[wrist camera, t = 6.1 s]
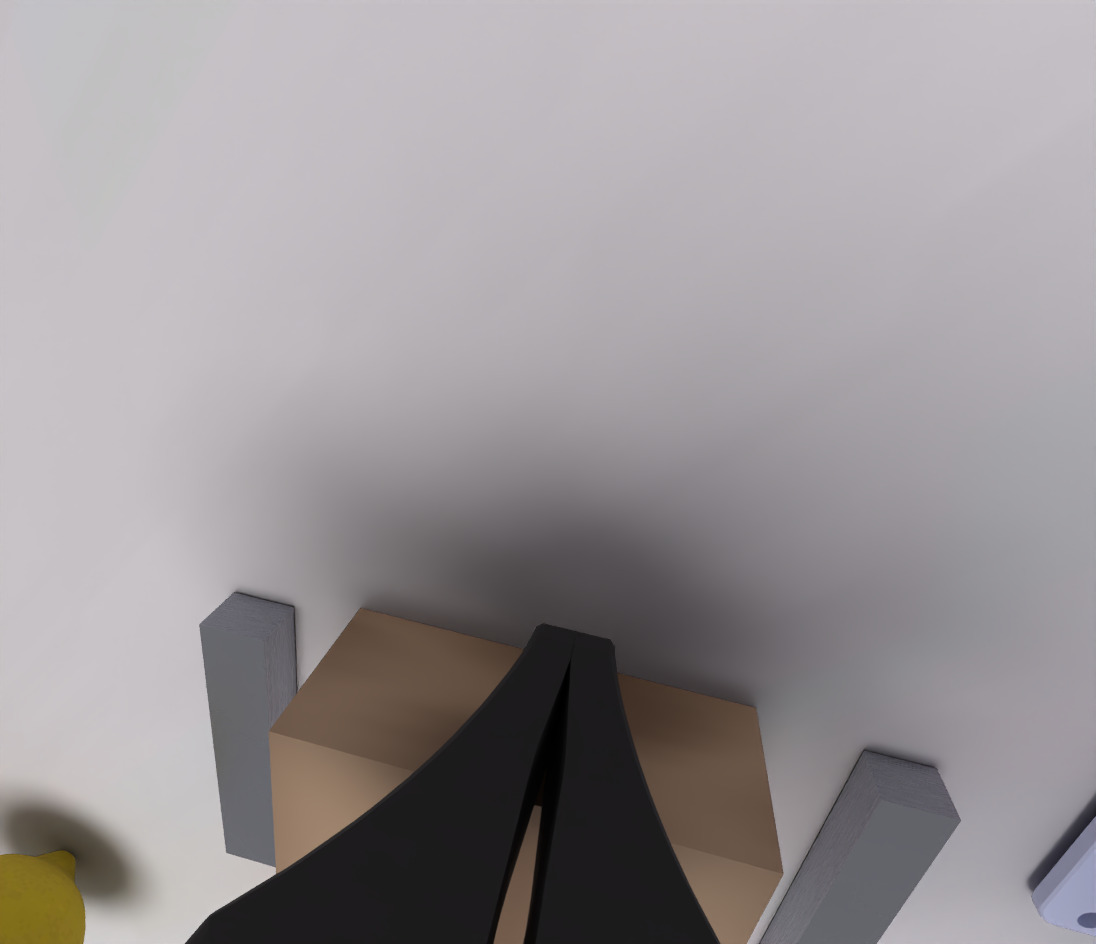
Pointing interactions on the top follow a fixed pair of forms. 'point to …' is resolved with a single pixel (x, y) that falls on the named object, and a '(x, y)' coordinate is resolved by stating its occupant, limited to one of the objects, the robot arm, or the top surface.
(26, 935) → the lemon
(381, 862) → the robot arm
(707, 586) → the top surface
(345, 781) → the block
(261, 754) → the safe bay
